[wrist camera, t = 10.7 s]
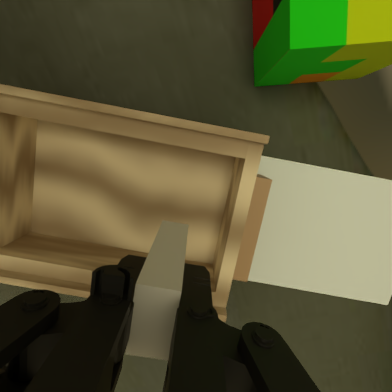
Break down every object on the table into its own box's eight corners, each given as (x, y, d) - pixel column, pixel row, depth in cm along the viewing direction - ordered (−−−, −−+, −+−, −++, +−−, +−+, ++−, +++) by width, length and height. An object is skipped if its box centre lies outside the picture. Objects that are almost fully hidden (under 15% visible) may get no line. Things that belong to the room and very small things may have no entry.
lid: (247, 152, 27) (257, 154, 22) (424, 186, 27) (472, 195, 22) (220, 272, 29) (224, 296, 25) (382, 300, 30) (417, 330, 25)
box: (30, 96, 25) (-32, 77, 18) (250, 138, 26) (269, 135, 19) (22, 245, 28) (-34, 276, 22) (219, 280, 29) (225, 321, 22)
